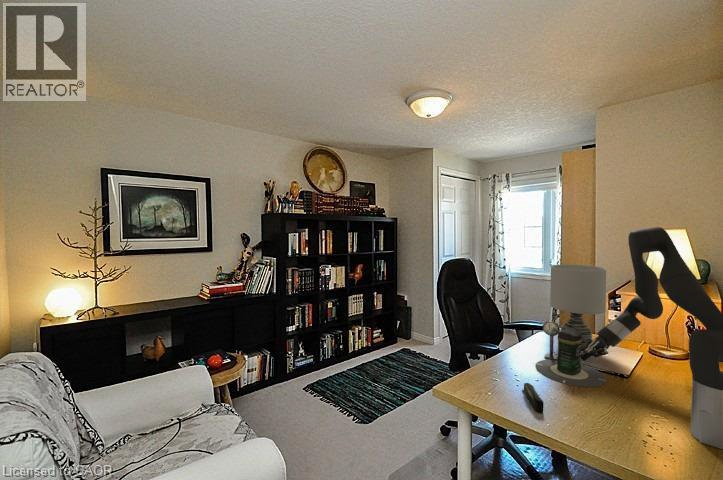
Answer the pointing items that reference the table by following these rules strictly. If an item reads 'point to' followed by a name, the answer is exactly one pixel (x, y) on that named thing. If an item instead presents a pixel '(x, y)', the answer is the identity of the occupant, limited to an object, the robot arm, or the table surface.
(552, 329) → the dial gauge
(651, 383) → the table surface
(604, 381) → the mat
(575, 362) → the coffee jar
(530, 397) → the dark elongated block
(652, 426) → the table surface
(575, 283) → the lamp
